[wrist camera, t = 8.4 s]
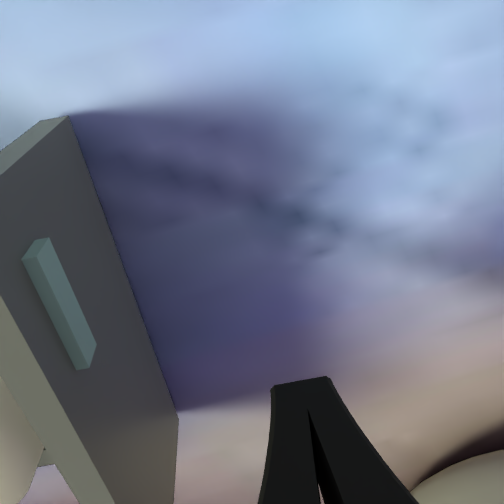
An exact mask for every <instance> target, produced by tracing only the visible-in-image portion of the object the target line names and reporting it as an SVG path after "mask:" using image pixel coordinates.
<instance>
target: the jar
mask: <svg viewBox="0 0 504 504" xmlns="http://www.w3.org/2000/svg"><path fill="white" fill-rule="evenodd" d="M410 493H411V495H412V496H413V497H414V498H415V499H416V500H417V502H418V503H419V504H504V450H498V451H494V452H490V453H486V454H482V455H479V456H475V457H471V458H469V459H466V460H464V461H461V462H458V463H456V464H453V465H451V466H449V467H447V468H446V469H444V470H442V471H440V472H438V473H437V474H435V475H433V476H431V477H430V478H428V479H426V480H425V481H423V482H421V483H420V484H419V485H418V486H417V487H415V488H414V489H413V490H412V491H411V492H410Z"/></svg>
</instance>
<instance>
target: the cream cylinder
mask: <svg viewBox="0 0 504 504" xmlns="http://www.w3.org/2000/svg"><path fill="white" fill-rule="evenodd" d="M43 449H44V446H43V444H42V442H41V441H40V439H39V438H38V436H37V434H36V433H35V431H34V430H33V428H32V426H31V425H30V423H29V422H28V420H27V418H26V417H25V415H24V414H23V412H22V410H21V409H20V407H19V406H18V404H17V402H16V401H15V399H14V397H13V396H12V394H11V393H10V391H9V389H8V388H7V386H6V385H5V383H4V381H3V380H2V378H1V377H0V504H17V503H19V501H20V500H21V499H22V498H23V497H24V496H25V495H26V493H27V492H28V490H29V488H30V485H31V482H32V480H33V477H34V474H35V471H36V468H37V466H38V463H39V460H40V457H41V454H42V452H43Z"/></svg>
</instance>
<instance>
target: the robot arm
mask: <svg viewBox="0 0 504 504" xmlns="http://www.w3.org/2000/svg"><path fill="white" fill-rule="evenodd" d="M270 393H271V421H270V432H269V442H268V449H267V456H266V462H265V469H264V475H263V481H262V486H261V490H260V495H259V500H258V504H321V502H320V494H319V487H320V490H321V494H322V497H323V500H324V503H325V504H419V503H418V502H417V500H416V499H415V498H414V497H413V496H412V495H411V493H410V492H409V491H408V490H407V489H406V487H405V486H404V485H403V484H402V482H401V481H400V480H399V479H398V478H397V476H396V475H395V474H394V473H393V471H392V470H391V469H390V468H389V466H388V465H387V464H386V463H385V461H384V460H383V459H382V457H381V456H380V455H379V453H378V452H377V451H376V449H375V448H374V447H373V445H372V444H371V442H370V441H369V440H368V438H367V437H366V436H365V434H364V433H363V431H362V430H361V429H360V427H359V426H358V424H357V423H356V421H355V420H354V418H353V417H352V415H351V414H350V412H349V411H348V409H347V407H346V406H345V404H344V403H343V401H342V399H341V397H340V396H339V394H338V392H337V390H336V388H335V387H334V385H333V383H332V380H331V379H330V378H328V377H327V376H323V377H317V378H312V379H306V380H301V381H295V382H290V383H284V384H279V385H274V386H273V387H272V388H271V389H270ZM318 484H319V487H318Z"/></svg>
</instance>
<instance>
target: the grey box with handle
mask: <svg viewBox="0 0 504 504" xmlns="http://www.w3.org/2000/svg"><path fill="white" fill-rule="evenodd" d="M0 377H1V378H2V380H3V381H4V383H5V385H6V386H7V388H8V389H9V391H10V393H11V394H12V396H13V397H14V399H15V401H16V402H17V404H18V406H19V407H20V409H21V410H22V412H23V414H24V415H25V417H26V418H27V420H28V422H29V423H30V425H31V426H32V428H33V430H34V431H35V433H36V434H37V436H38V438H39V439H40V441H41V442H42V444H43V446H44V449H43V452H42V454H41V457H40V460H39V463H38V466H37V467H41V466H46V465H52V464H55V465H56V467H57V468H58V470H59V471H60V473H61V475H62V476H63V478H64V479H65V481H66V483H67V484H68V486H69V487H70V489H71V491H72V492H73V494H74V495H75V497H76V499H77V500H78V502H79V503H80V504H173V503H174V488H175V472H176V456H177V440H178V425H179V418H178V416H177V413H176V410H175V407H174V405H173V402H172V399H171V396H170V394H169V391H168V388H167V385H166V383H165V380H164V377H163V374H162V372H161V369H160V366H159V363H158V361H157V358H156V355H155V352H154V350H153V347H152V344H151V342H150V339H149V336H148V333H147V331H146V328H145V325H144V322H143V320H142V317H141V314H140V311H139V309H138V306H137V303H136V300H135V298H134V295H133V292H132V289H131V287H130V284H129V281H128V278H127V276H126V273H125V270H124V267H123V265H122V262H121V259H120V256H119V254H118V251H117V248H116V245H115V243H114V240H113V237H112V234H111V232H110V229H109V226H108V223H107V221H106V218H105V215H104V212H103V210H102V207H101V204H100V202H99V199H98V196H97V193H96V191H95V188H94V185H93V182H92V180H91V177H90V174H89V171H88V169H87V166H86V163H85V160H84V158H83V155H82V152H81V149H80V147H79V144H78V141H77V138H76V136H75V133H74V130H73V127H72V125H71V122H70V119H69V116H63V117H58V118H52V119H47V120H42V121H39V122H38V123H37V124H35V125H34V126H33V127H32V128H30V129H29V130H28V131H26V132H25V133H24V134H22V135H21V136H20V137H18V138H17V139H16V140H15V141H13V142H12V143H11V144H9V145H8V146H7V147H5V148H4V149H3V150H1V151H0Z"/></svg>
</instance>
